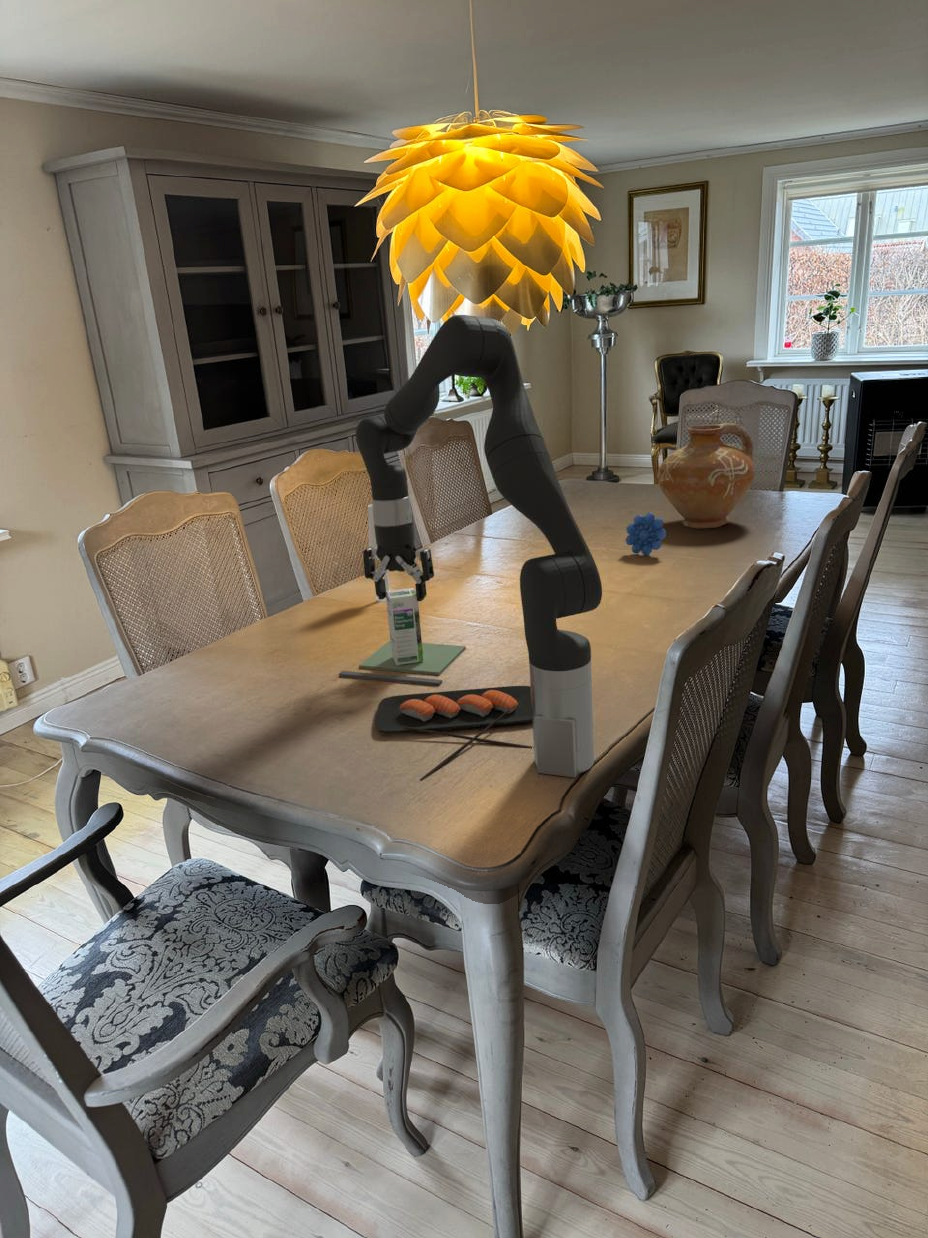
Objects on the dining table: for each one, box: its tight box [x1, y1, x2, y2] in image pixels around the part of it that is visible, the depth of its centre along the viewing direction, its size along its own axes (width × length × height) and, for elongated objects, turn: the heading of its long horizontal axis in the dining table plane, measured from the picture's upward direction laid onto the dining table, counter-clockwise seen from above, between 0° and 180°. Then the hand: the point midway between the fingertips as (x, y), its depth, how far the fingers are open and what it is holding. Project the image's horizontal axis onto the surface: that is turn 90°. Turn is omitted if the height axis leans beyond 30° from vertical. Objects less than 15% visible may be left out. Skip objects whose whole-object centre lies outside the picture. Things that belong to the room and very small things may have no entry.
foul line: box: [338, 670, 443, 687], centre depth 169 cm, size 2×22×1 cm, turn 68°
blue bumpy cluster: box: [625, 512, 667, 556], centre depth 235 cm, size 12×7×12 cm, turn 56°
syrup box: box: [386, 587, 423, 666], centre depth 174 cm, size 6×6×14 cm
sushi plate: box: [375, 685, 534, 782], centre depth 145 cm, size 29×30×4 cm
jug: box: [656, 422, 755, 530], centre depth 258 cm, size 28×28×30 cm
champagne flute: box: [367, 503, 392, 603], centre depth 215 cm, size 7×7×24 cm
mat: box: [358, 640, 467, 676], centre depth 179 cm, size 14×18×1 cm
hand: (401, 599), depth 172 cm, fingers open, 8 cm apart
